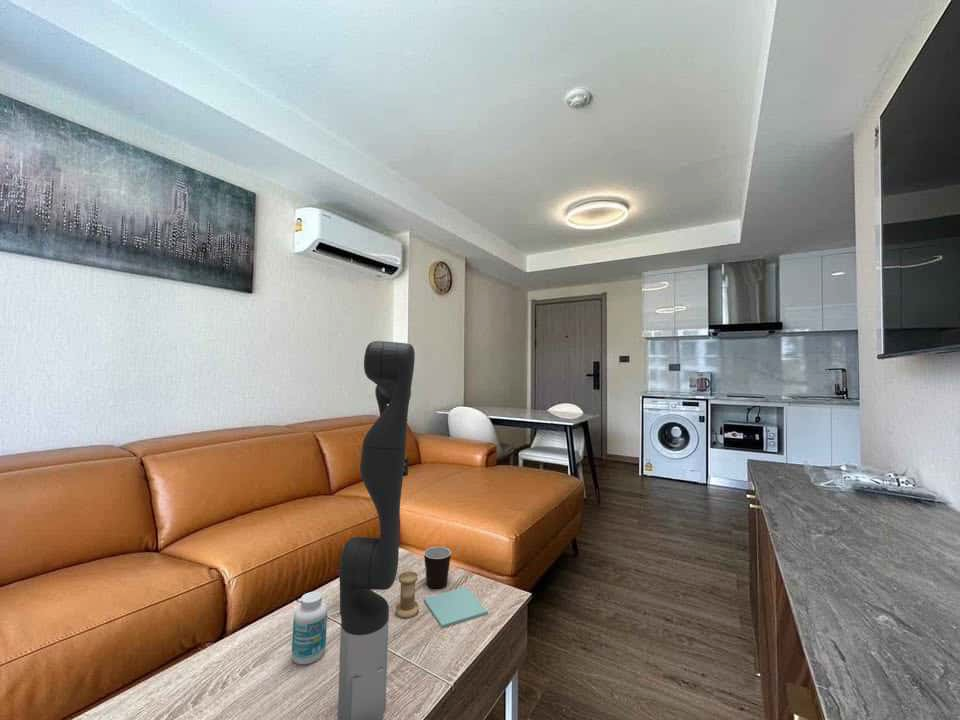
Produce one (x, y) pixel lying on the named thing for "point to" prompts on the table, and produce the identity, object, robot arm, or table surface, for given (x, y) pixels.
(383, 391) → the robot arm
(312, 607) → the pill bottle
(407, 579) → the tan chess pawn
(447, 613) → the mat
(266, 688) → the table surface
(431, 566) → the coffee mug
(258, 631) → the table surface
